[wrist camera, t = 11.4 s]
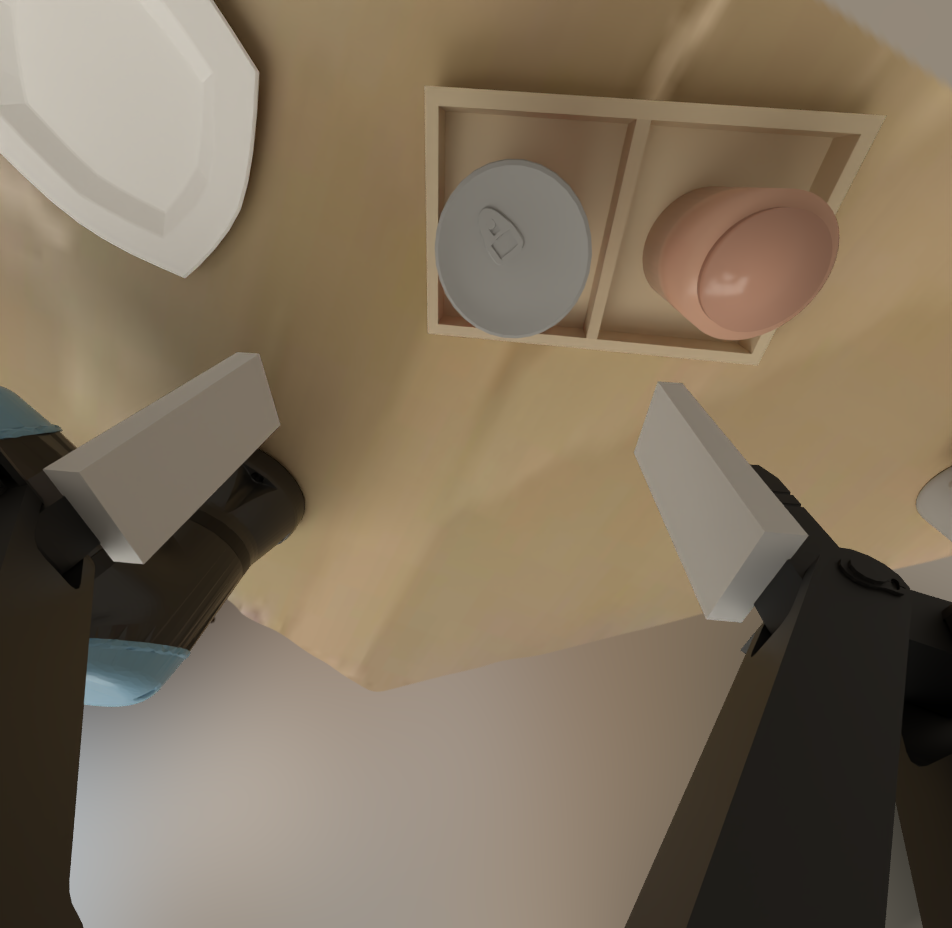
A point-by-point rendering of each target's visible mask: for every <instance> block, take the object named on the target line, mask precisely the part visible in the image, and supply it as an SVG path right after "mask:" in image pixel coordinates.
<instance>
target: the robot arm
mask: <svg viewBox="0 0 952 928" xmlns="http://www.w3.org/2000/svg"><path fill="white" fill-rule="evenodd" d="M279 426H280V422H279V418H278V415H277V411H276V408H275V405H274V401H273V398H272V394H271V391H270V388H269V384H268V381H267V378H266V374H265V371H264V367H263V364H262V361H261V357H260V354H258V353H244V352H237V353H235V354H233V355H232V356H230V357H228V358H227V359H225V360H223V361H222V362H220V363H218V364H217V365H215V366H213V367H212V368H210V369H208V370H207V371H205V372H203V373H202V374H200V375H198V376H197V377H195V378H193V379H192V380H190V381H188V382H187V383H185V384H183V385H182V386H180V387H178V388H177V389H175V390H173V391H172V392H170V393H168V394H167V395H165V396H163V397H162V398H160V399H158V400H157V401H155V402H153V403H152V404H150V405H148V406H147V407H145V408H143V409H142V410H140V411H138V412H137V413H135V414H133V415H132V416H130V417H128V418H127V419H125V420H123V421H122V422H120V423H118V424H117V425H115V426H113V427H112V428H110V429H108V430H107V431H105V432H103V433H102V434H100V435H98V436H97V437H95V438H94V439H92V440H90V441H89V442H87V443H85V444H84V445H82V446H80V447H79V448H76V447H75V446H74V445H73V444H72V443H71V442H70V441H69V440H68V439H67V438H66V437H65V436H64V435H63V434H62V433H61V432H60V431H63V430H62V429H61V428H60V427H59V426H58V425H53V424H51V423H50V422H49V421H47V420H46V419H45V418H44V417H43V416H41V415H40V414H39V413H38V412H37V411H36V410H34V409H33V408H32V407H31V406H30V405H28V404H27V403H26V402H25V401H24V400H23V399H21V398H20V397H19V396H18V395H17V394H15V393H14V392H12V391H11V390H9V389H7V388H5V387H2V386H0V928H83V924H82V922H81V920H80V918H79V916H78V914H77V912H76V911H75V909H74V907H73V905H72V903H71V897H70V893H69V877H70V866H71V853H72V841H73V830H74V817H75V804H76V793H77V781H78V769H79V757H80V745H81V733H82V720H83V709H84V704H85V705H94V706H108V707H111V706H112V707H117V706H128V705H133V704H137V703H140V702H142V701H144V700H146V699H148V698H150V697H151V696H153V695H154V694H155V693H156V692H158V691H159V690H160V688H161V687H162V686H163V685H164V684H165V682H166V681H167V680H168V679H169V678H170V676H171V675H172V674H173V673H174V672H175V670H176V669H177V668H178V667H179V665H180V664H181V663H182V662H183V661H184V659H186V658H187V657H188V656H189V655H190V651H191V649H192V648H193V646H194V645H195V643H196V642H197V641H198V639H199V638H200V636H201V635H202V634H203V632H204V631H205V629H206V628H207V626H208V625H209V624H210V622H211V621H212V619H213V618H214V617H215V615H216V614H217V612H218V611H219V609H220V608H221V606H222V605H223V604H224V602H225V601H226V600H227V598H228V597H229V595H230V594H231V593H232V591H233V590H234V588H235V587H236V585H237V584H238V583H239V581H240V580H241V578H242V577H243V576H244V574H245V573H246V571H247V570H248V569H249V567H250V566H251V565H252V564H253V563H254V562H256V561H257V560H258V559H259V558H261V557H262V556H263V555H265V554H266V553H267V552H268V551H270V550H271V549H272V548H273V547H274V546H276V545H278V544H280V543H282V542H283V541H284V540H286V539H287V538H288V537H289V536H290V535H291V534H292V533H293V532H294V530H295V529H296V527H297V526H298V524H299V523H300V521H301V519H302V517H303V515H304V508H305V507H304V499H303V496H302V493H301V490H300V488H299V486H298V485H297V483H296V482H295V480H294V479H293V477H292V476H291V475H290V474H289V473H288V472H287V471H286V469H285V468H283V467H282V466H281V465H280V464H279V463H278V462H277V461H275V460H274V459H273V458H271V457H270V456H268V455H267V454H265V453H264V452H262V451H260V450H258V449H257V448H258V447H259V446H260V445H261V444H262V443H263V442H264V441H265V440H266V439H267V438H268V437H269V436H270V435H271V434H272V433H273V432H274V431H275V430H276V429H277V428H278V427H279ZM634 454H635V456H636V459H637V461H638V463H639V466H640V468H641V470H642V473H643V475H644V477H645V479H646V482H647V484H648V486H649V489H650V491H651V493H652V496H653V498H654V500H655V502H656V505H657V507H658V509H659V512H660V514H661V516H662V519H663V521H664V523H665V525H666V528H667V530H668V532H669V535H670V537H671V539H672V542H673V544H674V546H675V548H676V551H677V553H678V555H679V558H680V560H681V562H682V565H683V567H684V569H685V571H686V574H687V576H688V578H689V581H690V583H691V585H692V588H693V590H694V592H695V594H696V597H697V599H698V601H699V604H700V606H701V608H702V611H703V613H704V615H705V617H706V619H710V620H721V621H732V622H742V621H743V620H744V618H745V617H746V616H747V615H748V613H749V612H750V611H751V610H752V608H753V607H754V606H755V607H756V609H757V611H758V613H759V615H760V616H761V618H762V620H763V624H762V625H761V626H760V627H759V628H758V629H757V631H756V632H755V633H754V634H753V635H752V637H751V638H750V639H749V640H748V642H747V643H746V644H745V645H744V647H743V648H742V649H741V651H743V652H744V653H745V654H746V655H745V657H744V660H743V662H742V664H741V666H740V668H739V671H738V673H737V675H736V678H735V680H734V682H733V684H732V687H731V689H730V691H729V693H728V696H727V698H726V700H725V702H724V705H723V707H722V709H721V711H720V714H719V716H718V718H717V720H716V723H715V725H714V727H713V729H712V732H711V734H710V736H709V738H708V741H707V743H706V745H705V748H704V750H703V752H702V754H701V756H700V759H699V761H698V763H697V765H696V768H695V770H694V772H693V775H692V777H691V779H690V781H689V784H688V786H687V788H686V790H685V793H684V795H683V797H682V799H681V802H680V804H679V806H678V808H677V811H676V813H675V815H674V817H673V820H672V822H671V824H670V826H669V829H668V831H667V833H666V835H665V838H664V840H663V842H662V844H661V847H660V849H659V852H658V854H657V856H656V858H655V860H654V863H653V865H652V867H651V869H650V871H649V874H648V876H647V878H646V880H645V883H644V885H643V887H642V889H641V892H640V894H639V896H638V899H637V901H636V903H635V905H634V908H633V910H632V912H631V914H630V917H629V919H628V921H627V923H626V926H625V928H885V920H886V919H885V918H886V907H887V896H888V884H889V872H890V860H891V848H892V836H893V824H894V810H895V801H896V805H897V810H898V815H899V819H900V823H901V828H902V833H903V837H904V842H905V846H906V851H907V856H908V861H909V865H910V870H911V875H912V879H913V884H914V888H915V893H916V897H917V902H918V907H919V911H920V916H921V921H922V925H923V928H952V602H949V601H946V600H942V599H939V598H935V597H932V596H929V595H926V594H922V593H919V592H916V591H912V590H910V588H909V587H908V585H907V584H906V583H905V582H904V581H903V579H902V578H901V577H900V576H899V575H898V574H896V573H895V572H894V571H893V570H891V569H890V568H889V567H887V566H886V565H885V564H883V563H881V562H879V561H877V560H876V559H874V558H872V557H870V556H868V555H865V554H863V553H860V552H857V551H854V550H851V549H846V548H839V547H838V545H837V544H836V543H835V542H834V541H833V540H832V539H831V537H830V536H829V535H828V534H827V533H826V532H825V531H824V530H823V528H822V527H821V526H820V525H819V524H818V523H817V522H816V521H815V519H814V518H813V517H812V516H811V515H810V514H809V513H808V512H807V510H806V509H805V508H804V507H801V504H800V503H799V501H798V500H797V499H796V498H795V497H794V496H793V495H790V491H789V490H788V489H787V488H786V487H785V486H784V484H783V483H782V482H781V481H780V480H779V479H778V478H777V477H775V476H774V475H772V474H771V473H770V472H768V471H767V470H765V469H764V468H762V467H761V466H759V465H750V464H749V463H748V462H747V461H746V459H745V458H744V457H743V456H742V455H741V453H740V452H739V451H738V450H737V449H736V447H735V446H734V445H733V444H732V443H731V441H730V440H729V439H728V438H727V437H726V435H725V434H724V433H723V432H722V431H721V429H720V428H719V427H718V426H717V425H716V423H715V422H714V421H713V420H712V418H711V417H710V416H709V415H708V414H707V412H706V411H705V410H704V409H703V408H702V406H701V405H700V404H699V403H698V402H697V400H696V399H695V398H694V397H693V396H692V394H691V393H690V392H689V391H688V390H687V388H686V387H685V386H684V385H683V384H682V383H673V382H657V385H656V388H655V391H654V394H653V397H652V400H651V403H650V406H649V409H648V412H647V415H646V418H645V421H644V424H643V427H642V430H641V433H640V436H639V439H638V442H637V445H636V448H635V451H634Z"/></svg>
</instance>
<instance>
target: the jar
mask: <svg viewBox="0 0 952 928" xmlns="http://www.w3.org/2000/svg"><path fill="white" fill-rule="evenodd" d="M838 248H839V227H838V223H837V219H836V217H835V215H834V212H833V210H832V209H831V208H830V206H829V205H828V204H827V203H826V202H825V201H824V200H823V199H822V198H820V197H819V196H817V195H815V194H814V193H811V192H808V191H805V190H800V189H791V188H760V187H729V186H707V187H701V188H698V189H695V190H692V191H690V192H688V193H686V194H684V195H682V196H680V197H679V198H677V199H676V200H675V201H673V202H672V203H671V204H670V205H669V206H668V207H667V208H665V210H664V211H663V212H662V213H661V214H660V215H659V217H658V218H657V219H656V221H655V222H654V224H653V226H652V227H651V229H650V231H649V233H648V236H647V238H646V241H645V245H644V249H643V257H642V262H643V271H644V274H645V277H646V279H647V281H648V283H649V285H650V286H651V288H652V289H653V290H654V291H655V292H657V293H658V294H659V295H660V296H661V297H662V298H663V299H665V300H666V301H667V302H668V303H669V304H670V305H672V306H673V307H674V308H675V309H676V310H677V311H678V312H680V313H681V314H682V315H683V316H684V317H685V318H686V319H688V320H689V321H690V322H691V323H692V324H693V325H695V326H696V327H697V328H698V329H699V330H701V331H702V332H704V333H705V334H707V335H709V336H711V337H715V338H718V339H723V340H743V339H749V338H753V337H757V336H760V335H763V334H765V333H768V332H770V331H772V330H774V329H776V328H778V327H780V326H782V325H783V324H785V323H786V322H788V321H789V320H791V319H792V318H793V317H795V316H796V315H797V314H798V313H800V312H801V311H802V310H803V309H804V308H805V307H806V306H807V305H808V304H809V303H810V302H811V301H812V300H813V299H814V297H815V296H816V295H817V294H818V292H819V291H820V290H821V288H822V287H823V285H824V283H825V282H826V280H827V279H828V277H829V275H830V273H831V270H832V268H833V266H834V263H835V260H836V257H837V252H838Z"/></svg>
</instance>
